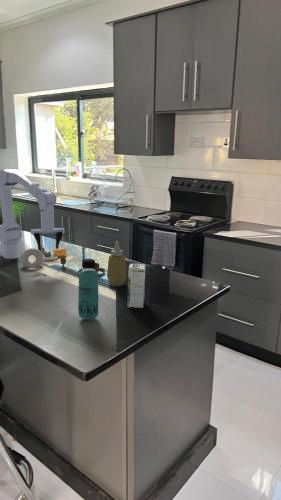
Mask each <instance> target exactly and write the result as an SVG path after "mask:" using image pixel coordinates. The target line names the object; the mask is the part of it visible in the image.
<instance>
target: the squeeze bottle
mask: <svg viewBox="0 0 281 500" xmlns="http://www.w3.org/2000/svg"><path fill="white" fill-rule="evenodd" d="M114 243H115V244H114V247H113V249H112V250H110V255H109V256H108V262H107V270H106V277H107V281H108V284H109V286H112V287H122V286H124V285H125V282H126V279H127V267H126V256H125V255H123V253H124V251H123V249H121V247H120V242H119V241H117V240H116V241H115V242H114Z"/></svg>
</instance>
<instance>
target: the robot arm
mask: <svg viewBox="0 0 281 500" xmlns="http://www.w3.org/2000/svg"><path fill="white" fill-rule="evenodd" d="M18 184H20V185H21V186H22V187H23V188H25V189H27V192H28V194H29V195H30V196H32V197H34V198H35V199H36V201H37V203H38V206H39V207H38V208H39V210H40V228H36V229H34V228H33V229H30V234H31V235H32V236H34V239H35V241H36V243H37V247H38V250H39V251H42V246H41V235H44V234H45V235H46V234H55V235H54V236H55V249H59V247H60V242H61V241H62V237H63V236H64V235H63V234H65V228H64V227H55V208H54V207H55V206H54V205H56V202H57V196H56V194H55V192H54V191H48V190H47V189H46V188H44V187H43V186H41V184H40V183H39V182H32V181H31V180H30V179H29V178H28V177H27V176H25V175H24V172H23V171H21V169H19V168H15V169H12V168H11V169H9V168H8V169H3V168H1V169H0V207H1V216H2V224H0V257H3V259H6V260H7V259H8V260H12V259H18V258H19V257H20V251H19V250H20V249H19V248H20V247H19V243H20V240H21V239H22V236H23V235H22V231H21V228H20V224H19V223H17V222H15V221H16V220H15V219H16V218H15V212H14V211H15V210H14V203H13V202H14V201H13V196H12V189H13V188H14V187H15V186H16V185H18Z"/></svg>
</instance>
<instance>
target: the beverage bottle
mask: <svg viewBox="0 0 281 500" xmlns="http://www.w3.org/2000/svg"><path fill="white" fill-rule="evenodd" d="M95 263H96V259H92V258H84V259H82V262H81V267H82V269H83V268H94V267H95ZM99 274H100V273H99V271H98V272H97V271H96V270H94V269H83V270H81V271H80V272H79V274H78V289H77V290H78V299H77V300H78V301H77V303H78V304H77V305H78V307H77V311H78V317H79V318H81V319H84V320H93V319H95V318H97V317H98V316H99V311H100V309H99V293H100V291H99V277H98V275H99Z"/></svg>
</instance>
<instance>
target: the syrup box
mask: <svg viewBox="0 0 281 500" xmlns="http://www.w3.org/2000/svg"><path fill="white" fill-rule="evenodd" d="M127 274H128V275H127V278H128V279H127V280H128V282H127V297H126V298H127V299H126V301H127V303H126V305H127V306H126V307H127V308H131V307H134V308H137V309H138V308H139V309H143V308H144V304H145V303H144V302H145V286H146V285H145V284H146V283H145V281H146V264H143V263H130V264H129V266H128V273H127Z"/></svg>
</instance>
